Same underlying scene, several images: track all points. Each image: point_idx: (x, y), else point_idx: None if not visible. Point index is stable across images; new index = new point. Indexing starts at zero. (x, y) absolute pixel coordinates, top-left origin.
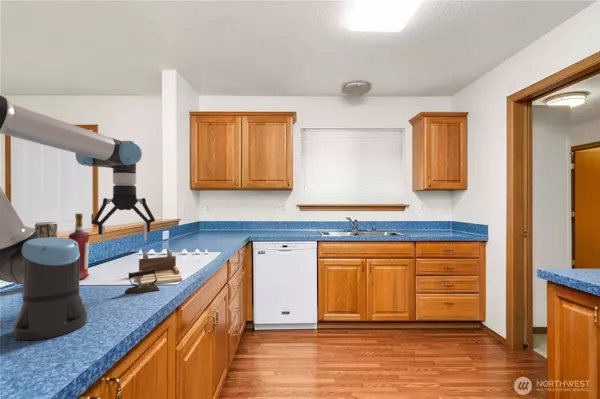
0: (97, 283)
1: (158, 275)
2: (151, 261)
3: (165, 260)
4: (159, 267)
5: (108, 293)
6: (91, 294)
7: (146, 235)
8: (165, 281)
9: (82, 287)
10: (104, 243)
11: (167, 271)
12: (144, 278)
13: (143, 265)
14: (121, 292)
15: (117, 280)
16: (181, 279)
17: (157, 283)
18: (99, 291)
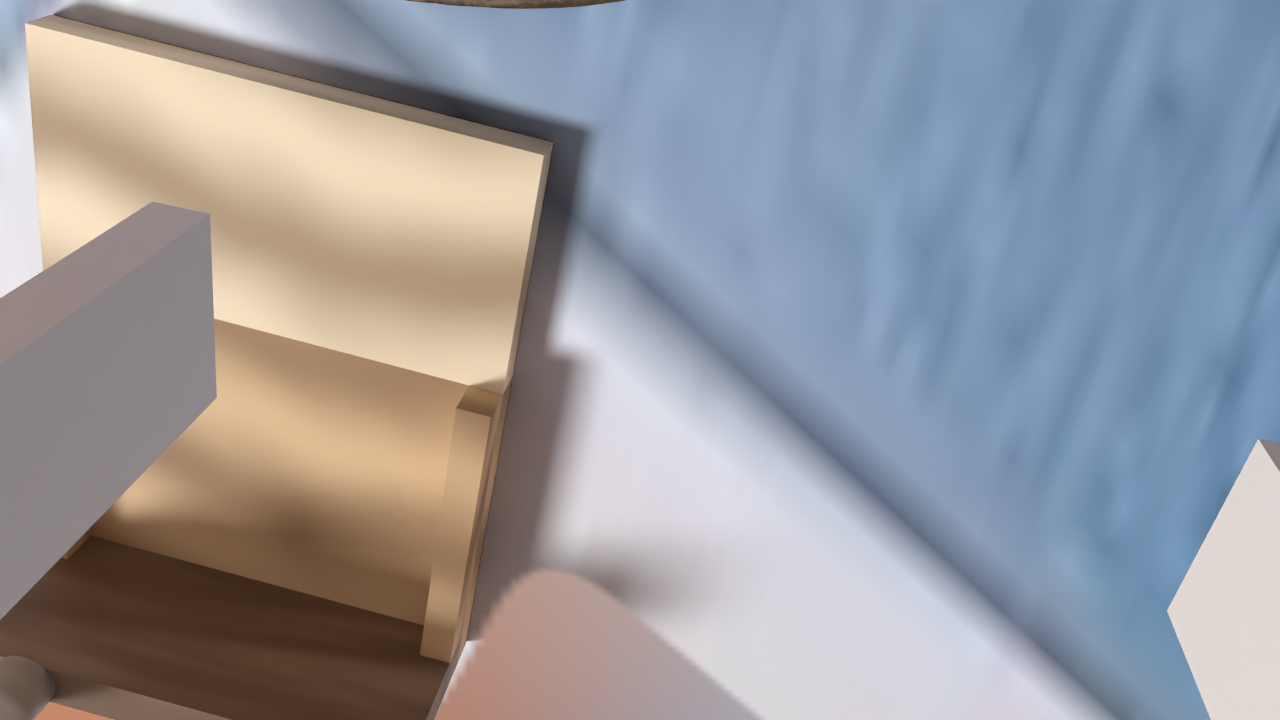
0: (913, 621)
1: (286, 379)
2: (272, 694)
3: (104, 644)
4: (222, 606)
5: (972, 86)
6: (1138, 196)
7: (59, 267)
8: (253, 73)
9: (1090, 574)
10: (1270, 443)
11: (163, 490)
12: (460, 357)
13: (383, 688)
14: (834, 9)
15: (710, 594)
16: (49, 22)
17: (358, 94)
18: (1018, 267)
